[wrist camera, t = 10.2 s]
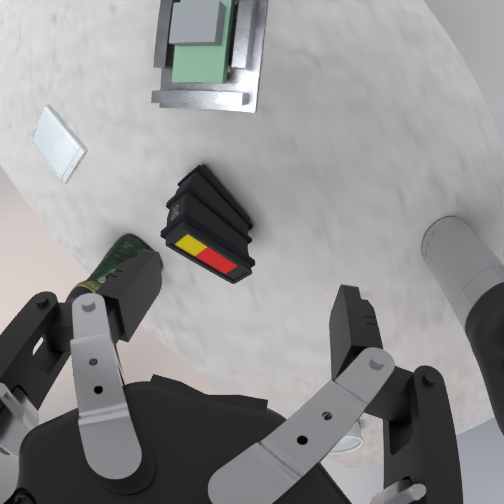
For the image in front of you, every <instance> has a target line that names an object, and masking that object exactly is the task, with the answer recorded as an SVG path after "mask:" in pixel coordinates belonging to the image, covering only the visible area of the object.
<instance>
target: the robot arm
mask: <svg viewBox="0 0 504 504" xmlns="http://www.w3.org/2000/svg"><path fill="white" fill-rule="evenodd" d="M422 254H423V257H424V259H425V261H426V262H427V264H428V266H429V267H430V269H431V271H432V272H433V274H434V276H435V278H436V279H437V281H438V283H439V284H440V286H441V288H442V290H443V292H444V293H445V295H446V297H447V299H448V301H449V302H450V304H451V306H452V308H453V310H454V312H455V314H456V316H457V318H458V319H459V321H460V323H461V325H462V327H463V329H464V331H465V334H466V336H467V338H468V340H469V342H470V345H471V348H472V350H473V353H474V355H475V357H476V360H477V362H478V365H479V367H480V370H481V373H482V376H483V379H484V382H485V385H486V388H487V392H488V395H489V399H490V402H491V405H492V409H493V412H494V415H495V418H496V420H497V423H498V425H499V428H500V430H501V432H502V433H503V435H504V264H503V263H502V262H501V261H500V260H499V259H498V257H497V256H496V255H495V254H494V253H493V252H492V251H491V250H490V249H489V247H488V246H487V245H486V244H485V243H484V242H483V241H482V240H481V239H480V238H479V237H478V236H477V235H476V234H475V232H474V231H473V230H472V229H471V228H470V227H469V226H468V225H467V224H466V223H465V222H464V221H462V220H461V219H459V218H457V217H445V218H442V219H440V220H438V221H437V222H435V223H434V224H433V225H432V226H431V227H430V228H429V230H428V231H427V232H426V234H425V237H424V239H423V243H422ZM161 284H162V277H161V263H160V254H159V252H155V251H150V250H145V249H143V250H141V251H140V252H139V253H138V254H137V256H136V257H135V258H130V259H128V260H126V261H124V262H122V263H121V264H120V265H119V266H118V267H117V269H116V271H114V272H113V273H112V274H111V276H109V277H108V279H107V280H106V281H105V282H104V283H103V284H102V285H101V286H100V288H99V289H98V290H97V291H96V292H95V293H87V294H84V295H81V296H79V297H78V298H77V299H76V300H75V301H74V302H73V303H58V300H57V297H56V295H55V294H54V293H52V292H41V293H38V294H36V295H35V296H33V297H32V298H31V299H30V300H29V302H28V303H27V304H26V305H25V306H24V307H23V308H22V310H21V311H20V312H19V313H18V314H17V316H16V317H15V318H14V319H13V320H12V321H11V323H10V324H9V325H8V326H7V328H6V329H5V330H4V331H3V332H2V334H1V335H0V452H1V453H3V454H6V455H12V456H14V457H16V458H17V459H18V460H19V475H18V482H17V487H16V489H15V491H14V493H13V495H12V496H11V497H10V498H9V499H8V500H7V501H6V502H5V503H3V504H352V503H351V502H350V501H349V500H348V498H347V497H346V496H345V494H344V493H343V492H342V491H341V489H340V488H339V487H338V485H337V484H336V483H335V481H334V480H333V479H332V478H331V476H330V475H329V474H328V472H327V471H326V470H325V468H324V467H323V466H322V465H321V463H320V462H321V461H322V460H323V459H324V458H325V457H326V456H327V454H328V453H329V452H330V451H331V450H332V449H333V448H334V447H335V446H336V444H337V443H338V442H339V441H340V440H341V439H342V438H343V437H344V435H345V434H346V433H347V432H348V431H349V430H350V428H351V427H352V426H353V425H354V424H355V422H356V421H357V420H358V419H359V418H360V416H361V415H362V414H363V413H367V414H370V415H373V416H376V417H378V418H381V419H383V437H384V490H382V491H381V492H379V493H377V494H376V495H375V496H374V498H373V499H372V501H371V503H370V504H463V494H462V493H463V492H462V480H461V470H460V462H459V454H458V447H457V441H456V435H455V429H454V424H453V418H452V413H451V409H450V404H449V399H448V395H447V391H446V387H445V383H444V379H443V377H442V375H441V374H440V373H439V371H437V370H436V369H435V368H433V367H430V366H420V367H418V368H417V369H416V370H415V371H414V373H413V372H410V371H408V370H405V369H402V368H399V367H397V366H395V364H394V360H393V358H392V357H391V355H390V354H389V353H387V352H386V351H384V350H383V345H382V341H381V336H380V332H379V328H378V326H377V325H378V323H377V319H376V315H375V311H374V308H373V307H372V305H371V304H370V303H369V301H368V300H363V299H361V296H360V292H359V288H358V287H355V286H348V285H341V286H340V288H339V291H338V294H337V297H336V300H335V303H334V306H333V308H332V311H331V315H330V321H329V330H330V348H331V372H332V380H330V381H329V382H328V383H327V384H326V385H325V386H324V387H322V388H321V389H320V390H319V391H318V392H317V393H316V394H315V395H314V396H313V397H312V398H311V399H310V400H309V401H308V402H307V403H305V404H304V405H303V406H302V407H301V408H300V409H299V410H298V411H297V412H295V413H294V414H293V415H292V416H291V417H290V418H289V419H286V418H284V417H283V416H281V415H280V414H278V413H277V412H275V411H273V410H271V409H268V408H267V403H268V400H265V399H259V398H253V397H248V396H242V395H207V394H204V393H202V392H200V391H198V390H196V389H194V388H192V387H190V386H188V385H186V384H184V383H182V382H180V381H176V380H172V379H169V378H165V377H162V376H158V375H155V374H153V376H152V378H151V380H150V382H148V381H143V382H134V383H130V384H126V381H125V377H124V374H123V370H122V366H121V362H120V358H119V354H118V350H117V346H116V343H117V342H118V340H122V341H126V342H129V340H130V338H131V337H132V335H133V334H134V332H135V330H136V329H137V327H138V326H139V324H140V322H141V321H142V319H143V318H144V316H145V314H146V313H147V311H148V310H149V308H150V307H151V305H152V303H153V302H154V300H155V299H156V297H157V296H158V294H159V292H160V289H161ZM41 337H42V338H43V340H44V341H43V342H42V344H41V345H40V347H39V348H38V350H37V351H36V352H35V354H34V355H33V349H34V347H35V345H36V344H37V342H38V341H39V339H40V338H41ZM70 355H71V356H72V367H73V376H74V383H75V391H76V397H77V403H78V408H76V409H74V410H72V411H69V412H67V413H65V414H63V415H61V416H59V417H56V418H54V419H52V420H50V421H47V422H45V423H43V424H41V425H38V422H39V414H38V410H39V408H40V406H41V404H42V402H43V400H44V399H45V397H46V395H47V393H48V392H49V390H50V388H51V386H52V384H53V383H54V381H55V380H56V378H57V376H58V374H59V373H60V371H61V370H62V368H63V366H64V365H65V363H66V361H67V360H68V358H69V356H70Z"/></svg>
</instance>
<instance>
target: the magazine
mask: <svg viewBox="0 0 504 504" xmlns="http://www.w3.org/2000/svg"><path fill="white" fill-rule="evenodd" d="M178 186H179V188H178V190H177V191H176V194H175V196H174V197H172V198H171V199H170V200H169V201H168V202H167V205H166V207H167V208H168V209H170V211H169V214H168V217H167V227H165V228H164V229H163V230H162V231H161V237H162V238H164V239H166V246H167V247H169V248H171V249H172V250H174V251H176V252H177V253H179V254H181V255H183V256H184V257H186V258H188V259H189V260H191V261H193V262H195V263H196V264H198V265H200V266H202V267H203V268H205V269H207V270H209V271H210V272H212V273H214V274H216V275H217V276H219V277H221V278H223V279H225V280H226V281H228V282H230V283H232V284H235V283H237V282H239V281H240V280H242V279H244V278H245V277H247V276H249V275H251V274H252V270H251V267H253V266H254V265H255V260H254V259H252V258H251V257H249V253H248V244H249V243H251V242H252V238H250V237H249V236H248V231H249V230H250V229H252V228H253V226H254V225H253V224H252V223H251V220H250V219H249V218H248V216H247V215H246V214H245V213H244V212H243V210H242V209H241V208H240V207H239V206H238V204H237V203H236V202H235V201H234V200H233V198H232V197H231V196H230V195H229V194H228V192H227V191H226V190H225V189H224V188H223V186H222V185H221V184H220V183H219V182H218V180H217V179H216V178H215V177H214V176H213V175H212V173H211V172H210V171H209V170H208V169H207V167H206V166H205V165H201V166H197V167H196V168H195V169H194V170H193V171H192V172H190V173H189V174H188V175H187V176H186V177H185V178H183V179H182V180H181V181H180V182H179V183H178Z"/></svg>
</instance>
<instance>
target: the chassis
mask: <svg viewBox="0 0 504 504" xmlns="http://www.w3.org/2000/svg"><path fill="white" fill-rule="evenodd" d="M180 1H181V0H161V4H160V11H159V18H158V26H157V35H156V45H155V56H154V68H162V76H161V90H159V91H152V102H151V103H160V108H199V109H218V110H232V111H243V112H254V113H255V112H256V104H257V95H258V86H259V76H260V67H261V58H262V49H263V40H264V31H265V23H266V14H267V5H268V0H235V8H234V16H233V24H232V33H231V42H230V51H229V60H228V70H227V80H226V84H223V83H189V82H172V73H173V61H174V51H175V45H173V44H170V43H169V37H170V28H171V20H172V12H173V5H174V3H179V2H180Z"/></svg>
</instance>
